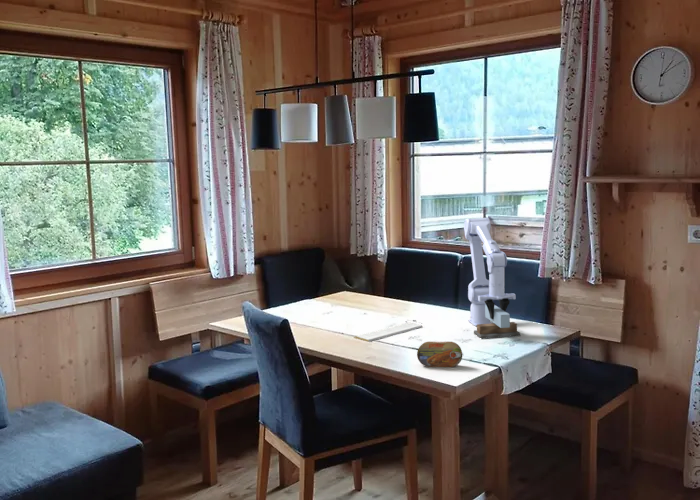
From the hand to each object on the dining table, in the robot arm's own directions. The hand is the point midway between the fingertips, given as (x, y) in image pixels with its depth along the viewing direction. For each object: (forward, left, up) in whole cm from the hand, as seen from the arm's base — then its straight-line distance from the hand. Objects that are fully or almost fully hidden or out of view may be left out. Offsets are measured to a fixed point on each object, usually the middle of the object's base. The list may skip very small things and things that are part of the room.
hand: (496, 318), depth 263 cm
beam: (0, 0, -2) cm, 2 cm away
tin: (+32, -32, -7) cm, 46 cm away
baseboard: (-15, -40, -7) cm, 44 cm away
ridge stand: (0, 0, -7) cm, 7 cm away
